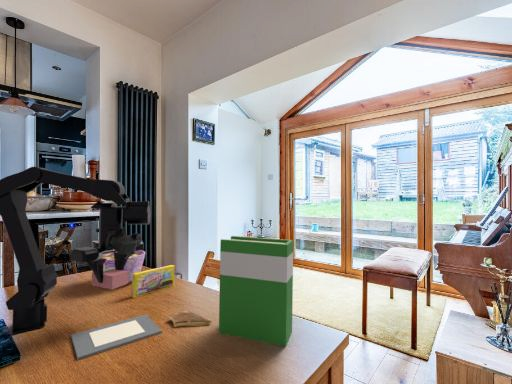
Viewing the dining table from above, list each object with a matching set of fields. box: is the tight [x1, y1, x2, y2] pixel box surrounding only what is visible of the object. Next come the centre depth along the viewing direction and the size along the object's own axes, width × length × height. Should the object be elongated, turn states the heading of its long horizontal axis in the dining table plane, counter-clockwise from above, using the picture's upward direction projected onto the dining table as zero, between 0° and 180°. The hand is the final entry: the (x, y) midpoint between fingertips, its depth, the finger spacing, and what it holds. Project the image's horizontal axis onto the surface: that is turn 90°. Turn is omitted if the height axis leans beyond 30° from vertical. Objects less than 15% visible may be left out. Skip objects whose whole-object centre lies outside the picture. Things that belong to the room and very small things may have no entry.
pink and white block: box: [91, 268, 129, 290], centre depth 74 cm, size 5×8×4 cm, turn 68°
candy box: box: [130, 264, 176, 299], centre depth 97 cm, size 16×2×8 cm, turn 143°
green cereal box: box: [218, 235, 294, 348], centre depth 69 cm, size 18×7×24 cm, turn 71°
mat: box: [70, 314, 162, 361], centre depth 66 cm, size 18×12×1 cm, turn 131°
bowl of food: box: [103, 250, 146, 284], centre depth 106 cm, size 20×20×12 cm
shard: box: [168, 310, 212, 328], centre depth 73 cm, size 11×8×2 cm
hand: (109, 280), depth 74 cm, fingers closed on pink and white block, 5 cm apart
